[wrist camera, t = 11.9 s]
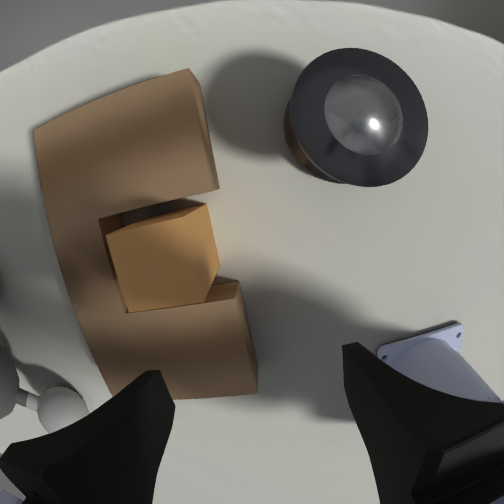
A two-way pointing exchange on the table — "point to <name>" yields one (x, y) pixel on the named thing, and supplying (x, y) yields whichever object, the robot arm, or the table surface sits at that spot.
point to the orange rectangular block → (165, 259)
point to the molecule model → (39, 399)
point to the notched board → (108, 220)
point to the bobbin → (356, 119)
